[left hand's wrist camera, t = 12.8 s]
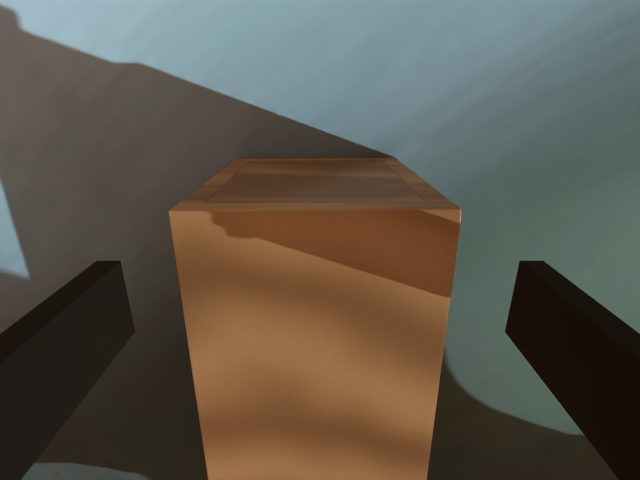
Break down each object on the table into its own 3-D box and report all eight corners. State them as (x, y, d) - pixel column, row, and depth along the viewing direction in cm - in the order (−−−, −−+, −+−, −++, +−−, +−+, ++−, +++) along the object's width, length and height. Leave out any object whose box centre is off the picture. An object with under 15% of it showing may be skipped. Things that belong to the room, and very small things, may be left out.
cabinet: (378, 415, 32) (412, 587, 21) (256, 417, 31) (224, 590, 20) (395, 157, 24) (462, 209, 13) (235, 158, 24) (167, 210, 13)
